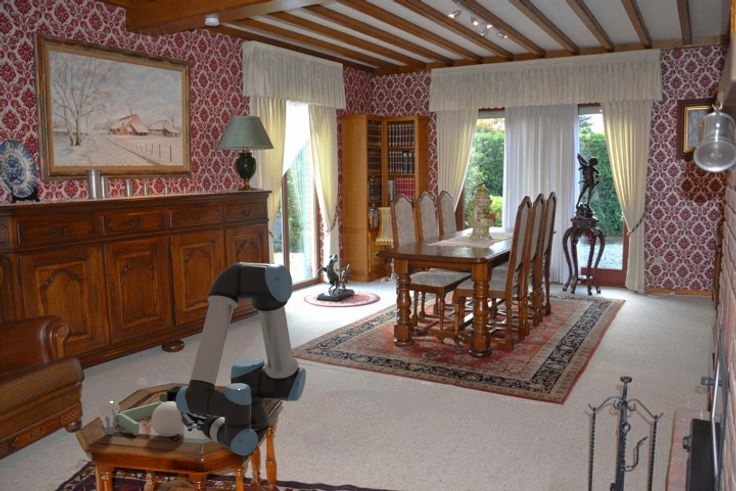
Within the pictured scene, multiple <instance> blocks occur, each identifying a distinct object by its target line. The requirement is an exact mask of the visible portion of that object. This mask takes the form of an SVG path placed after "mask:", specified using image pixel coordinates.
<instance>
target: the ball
mask: <svg viewBox="0 0 736 491" xmlns="http://www.w3.org/2000/svg"><path fill="white" fill-rule="evenodd" d="M150 421H151V426H152V429H153V431H155V433H156V434H158V435H159V436H162V437H167V438H168V437H169V438H171V437H173V436H176V435H178V434H180V433H181V432H182V431H183V430H184V428H185V427H186V426H185V424H184V423H183V422H182V416H181V414H179V413H178V409H177V406H176V402H173V401H169V402H167V401H166V402H164V403H162V404H160V405H159V406H158V407H157V408H156V409H155V410H154V412H153V414H152V416H151V420H150Z"/></svg>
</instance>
